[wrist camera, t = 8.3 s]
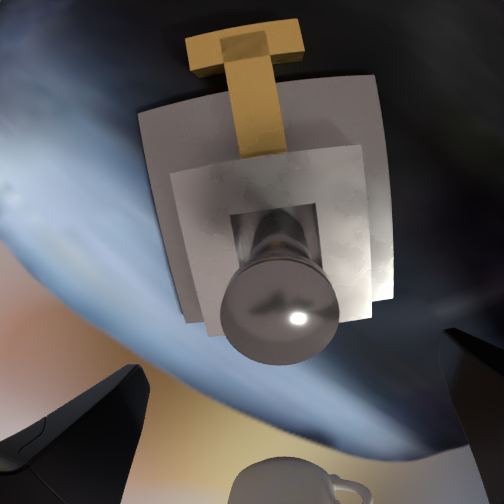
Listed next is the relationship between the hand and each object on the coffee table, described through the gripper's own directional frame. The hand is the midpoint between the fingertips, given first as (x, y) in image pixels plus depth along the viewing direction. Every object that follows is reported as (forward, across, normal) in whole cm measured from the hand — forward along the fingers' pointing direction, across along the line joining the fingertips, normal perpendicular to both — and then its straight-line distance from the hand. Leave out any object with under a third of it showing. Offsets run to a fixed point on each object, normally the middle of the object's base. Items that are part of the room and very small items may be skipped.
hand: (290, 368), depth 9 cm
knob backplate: (+12, 0, -4) cm, 12 cm away
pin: (+11, 0, 0) cm, 11 cm away
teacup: (+12, +1, +25) cm, 28 cm away
